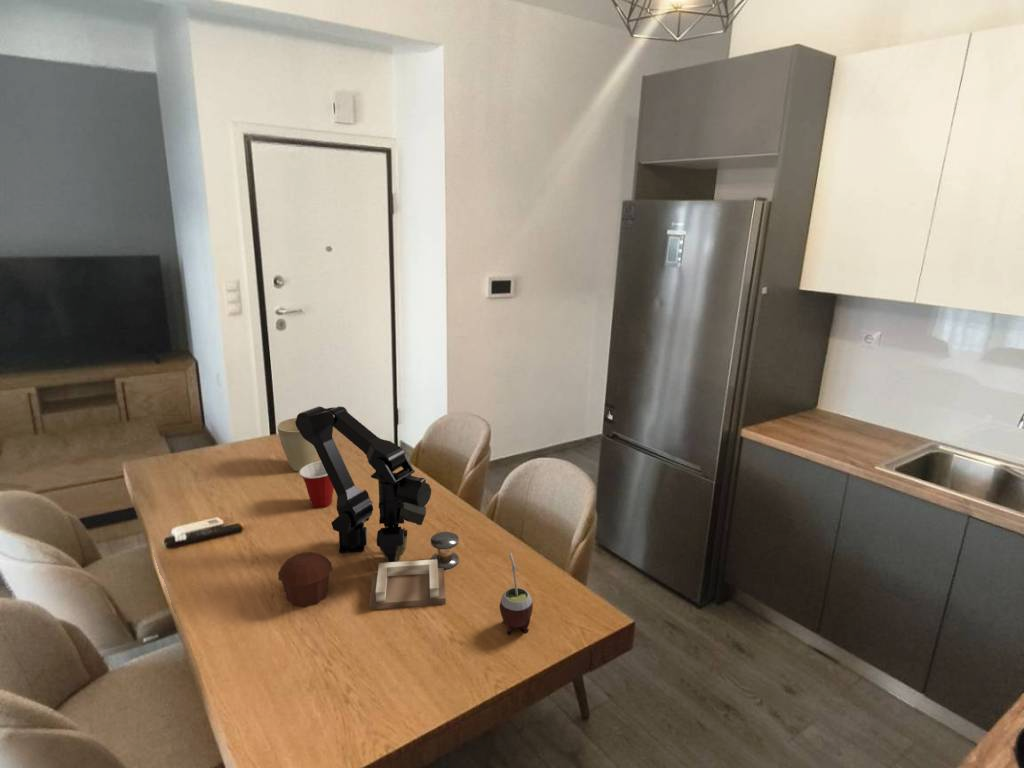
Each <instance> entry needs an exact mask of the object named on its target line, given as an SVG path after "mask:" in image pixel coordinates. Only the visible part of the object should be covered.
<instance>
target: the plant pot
mask: <svg viewBox="0 0 1024 768" xmlns="http://www.w3.org/2000/svg"><path fill="white" fill-rule="evenodd" d="M296 418H297V417H292V418H287V419H284V420H282V421H280V422H278V423H277V425H276V428H277V433H278V437H279V441H280V443H281V446H282V447H281V448H282V449H283V452H284V455H285V458H286V460H287V462H288V463H289V465H290V467H291V469H292V470H293V471H295V472H299V471H300V470H301V468H303V467H304V466H306V465H308V464H310V463H313V462H318V457H319V455H318V453H317V451H316V449H315V447H314V445H312V444H311V443H310V442H308V441H307V440H305V439H304V438H303V437H302V435H301V433H300V432H299V430H298V429H297V427H296V423H295V421H296Z"/></svg>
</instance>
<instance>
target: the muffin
mask: <svg viewBox="0 0 1024 768" xmlns="http://www.w3.org/2000/svg"><path fill="white" fill-rule="evenodd" d="M332 569H333V565H332V561H330V560H329V558H327V557H326V556H324V555H322V554H321V553H319V552H313V551H306V552H305V551H304V552H300V553H297V554H295V555H293V556H291V557H289V558H287V560H285V562H283V564H282V565H281V566H280V569H279V571H278V572H277V576H278V580H279V581H281V583H282V587H283V590H284V593H285V596H286V600H287V601H288V603H290V604H291V605H292V606H293V607H301V608H307V607H311V606H315V605H319V603H320V602H321V601H323V600H325V599H326V598H327V593H328V590H329V581H330V573H331V572H332Z"/></svg>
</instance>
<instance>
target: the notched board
mask: <svg viewBox="0 0 1024 768" xmlns="http://www.w3.org/2000/svg"><path fill="white" fill-rule="evenodd" d="M371 578H372V579H371V586H370V593H369V594H370V595H369V601H368V609H369V611H370V610H382V609H396V608H397V609H398V608H407V607H409V608H410V607H419V606H420V607H422V606H423V607H424V606H436V605H446V603H447V602H446V601H447V599H446V585H445V584H446V582H445V569H444V568H438V562H437V559H434V560H431V559H421V560H406V561H398V562H378V570H377V571H375V572H372V577H371Z"/></svg>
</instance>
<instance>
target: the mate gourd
mask: <svg viewBox="0 0 1024 768" xmlns="http://www.w3.org/2000/svg"><path fill="white" fill-rule="evenodd" d="M508 554H509V558H510V561H511V565H512V567H511V569H512V570H511V571H512V573H513V583H514V584H513V585H514V587H512V588H509V589H507V590H506V591H505V592H504V593H503V594H502V596H501V598H500V602H499V611H500V615H501V618H502V623H503V624H506V626H507V631H506V635H508V636H511V635H512V633H514V632H515V630H519V631H520V632H524V633H526V634H527V633H529V630H530V629H529V628H528V627H529V626H530V622H531V616H532V613H533V609H534V605H533V599H532V597H531V594H530V593H529V592H528V591H527V590H526V589H524V588H520V587H518V583H517V567H516V564H515V561H514V557H513V554H512V551H508Z"/></svg>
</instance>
